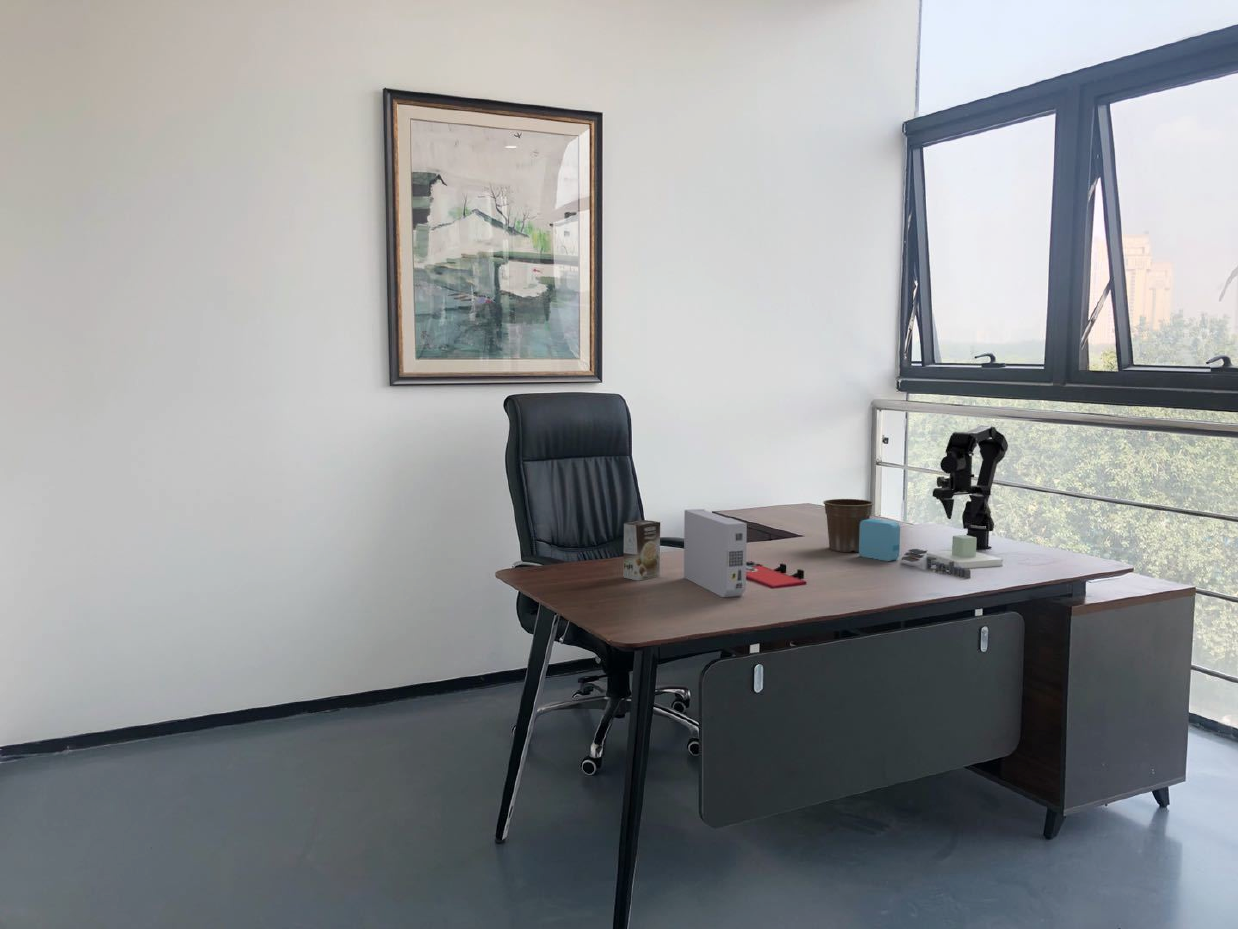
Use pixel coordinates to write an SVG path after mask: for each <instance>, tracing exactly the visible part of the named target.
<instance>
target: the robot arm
mask: <svg viewBox="0 0 1238 929" xmlns="http://www.w3.org/2000/svg"><path fill="white" fill-rule="evenodd" d="M948 439H949V440H948V443H947V446H946V448H945V451H944V453H945V454H946V456H944V457H942V458H941V461H940V464H939V466H940V469H941V471H942V472H943V473H945V474H949V477H948V478H947V477H945V476H938V477H936V486H937V487H935V488H933V490H932V497H933V498H935V499H936V500H939V502H940V503H941V504H942V507H943V509H944V511H945V515H946V517H947V519H948V520H951V519H952V515H953V510H954V504H955V498H953V497H954V496H960V495H961V496H964V495H968V496H969V499H970V500H966V502H965V506H964V510H963V512H962V514H961V520H962V521H961V522H962V528H963V530H964V529H965V530H967V532H966V534H965V535H968V536H972V537H976V538H977V542H976V550H984V549H985V550H986V549H992V546H990V545H989V538H990V532H993V531H994V528H995V522H994V520H993V518H992V515H991V509H990V506H989V499H990V496H992V487H993V482H994V478H995V474H996V470H997V466H998V464H999V463H1000V462H1001V461H1002V460H1003V459H1004V458H1005V455H1006V452H1007V451H1008V449H1009V443H1008V440H1007V439H1006V437H1005V435H1004V434H1002V433H1001V432H1000V431H998V430H997V428H996V427H995V426H993V425H985V424H984V425H978V427H975V428H973V429H971V430H968V431H954V432H952V434H951V435H950V436H949V438H948ZM977 447H979V453H980V456H981V459H982V461H981V465H980V470H979V473H978V478H977V482H976V485H972V478H975V474H974V473H973V472H972V471H973V469H972V468H973V456H975V453H974V450H975V448H977Z"/></svg>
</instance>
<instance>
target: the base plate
mask: <svg viewBox="0 0 1238 929" xmlns="http://www.w3.org/2000/svg"><path fill="white" fill-rule="evenodd" d="M925 554H926V555H925V559H926V560H927V557H929V556H931V557H935V558H937V560H932V562H940V563H944V564H949V562H951V561H954V567H961V568H968V569H974V568H986V567H987V568H988V567H989V568H990V567H1000V566H1001V567H1003V564H1004V561H1003V560H1004V559H1003V558H1000V557H996V556H993V555H990V554H987V553H986V554H985V553H982V552H980V551H979V552H978V551H976V557H966V558H961V557H958V556H955V555H952V550H944V551H943V550H942V551H941V550H940V551H927V552H926V553H925Z"/></svg>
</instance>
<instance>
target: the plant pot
mask: <svg viewBox="0 0 1238 929" xmlns="http://www.w3.org/2000/svg"><path fill="white" fill-rule="evenodd" d="M822 503H823V504H824V511H825V512H824V513H825V516H826V525H827V526H826V527H827V536H828V548H829V550H831V551H835V552H839V553H851V552H855V553H859V535H860V522H861V521H863V520H867V519H871V518H870V517H871V515H872V508H873V505H874V501H871V500H869V499H868V500H867V499H858V498H857V499H855V498H832V499H826V500H823V502H822Z"/></svg>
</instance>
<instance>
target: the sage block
mask: <svg viewBox="0 0 1238 929" xmlns="http://www.w3.org/2000/svg"><path fill="white" fill-rule="evenodd" d="M976 542H977V538H976V537H972V536H968V535H966V534H964V535H963V534H962V535H960V534H959V535H952V543H951V544H952V546H951V549H952V550H951V551H952V555H955V556H958V557H961V558H966V557H976V552H977V549H976Z"/></svg>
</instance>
